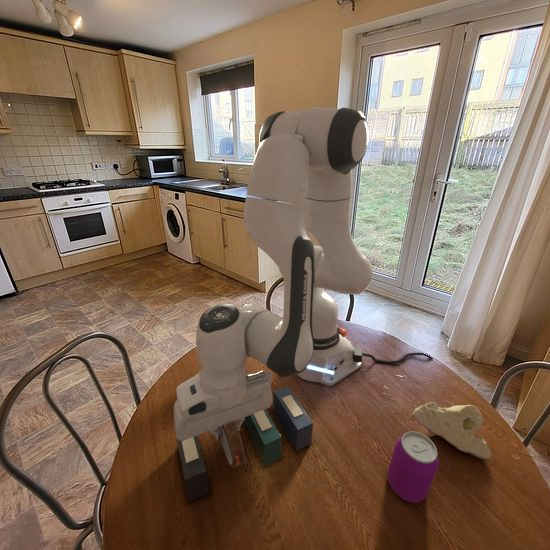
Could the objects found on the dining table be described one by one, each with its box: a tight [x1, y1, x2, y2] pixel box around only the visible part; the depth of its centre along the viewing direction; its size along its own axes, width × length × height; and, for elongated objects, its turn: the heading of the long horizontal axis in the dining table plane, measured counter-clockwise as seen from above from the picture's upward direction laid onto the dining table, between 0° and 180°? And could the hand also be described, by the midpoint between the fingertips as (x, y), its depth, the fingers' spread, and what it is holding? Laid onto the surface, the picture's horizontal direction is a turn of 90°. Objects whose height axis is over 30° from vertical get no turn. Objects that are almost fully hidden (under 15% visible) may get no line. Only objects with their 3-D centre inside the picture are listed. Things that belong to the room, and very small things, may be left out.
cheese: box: [411, 400, 492, 460], centre depth 69 cm, size 15×7×15 cm
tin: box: [219, 421, 246, 469], centre depth 62 cm, size 15×3×8 cm, turn 26°
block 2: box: [243, 409, 282, 467], centre depth 67 cm, size 4×12×7 cm, turn 26°
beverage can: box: [387, 430, 440, 504], centre depth 58 cm, size 8×8×12 cm
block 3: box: [272, 385, 314, 451], centre depth 71 cm, size 4×12×7 cm, turn 26°
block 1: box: [175, 435, 210, 503], centre depth 61 cm, size 4×12×7 cm, turn 26°
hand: (227, 433), depth 62 cm, fingers closed on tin, 2 cm apart
